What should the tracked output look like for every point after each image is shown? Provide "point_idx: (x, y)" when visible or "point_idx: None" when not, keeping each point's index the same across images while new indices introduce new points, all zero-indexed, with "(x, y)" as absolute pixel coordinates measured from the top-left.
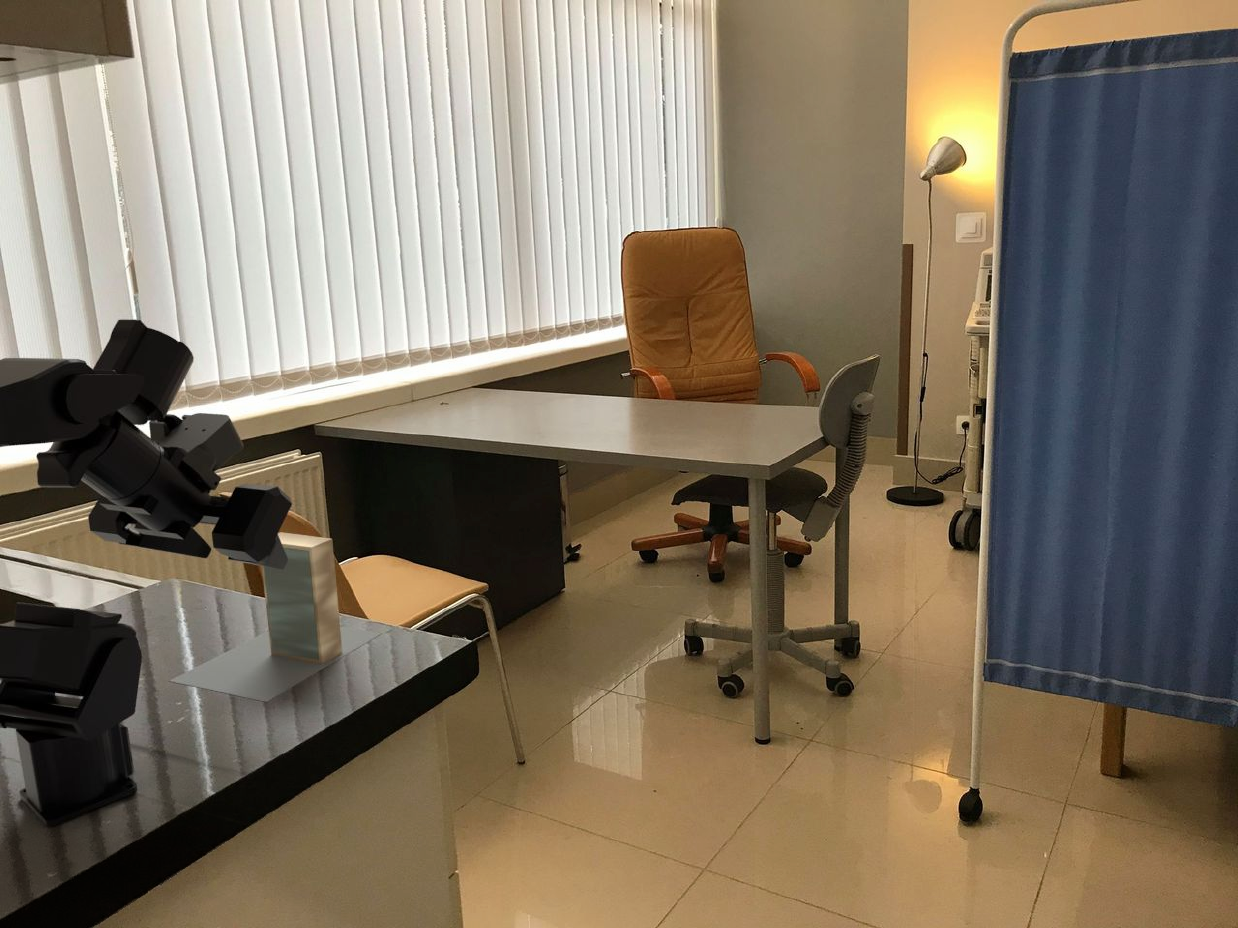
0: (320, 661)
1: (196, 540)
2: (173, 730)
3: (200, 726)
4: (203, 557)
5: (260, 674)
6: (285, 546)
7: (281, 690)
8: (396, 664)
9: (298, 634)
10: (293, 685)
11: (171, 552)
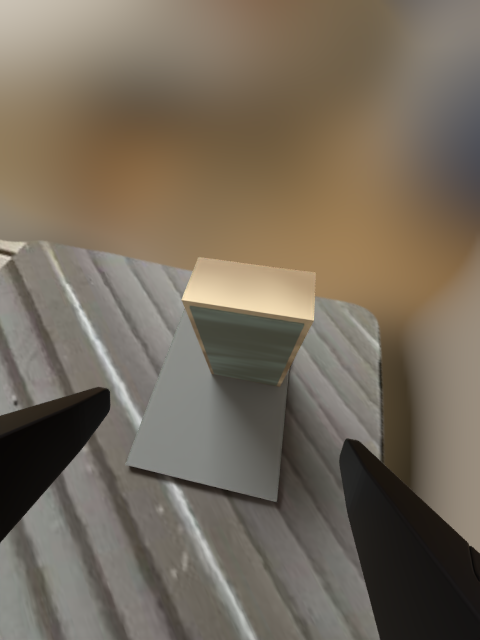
0: (277, 385)
1: (61, 429)
2: (191, 604)
3: (221, 580)
4: (102, 420)
5: (226, 426)
6: (246, 313)
7: (275, 464)
8: (343, 362)
9: (252, 373)
10: (281, 447)
11: (1, 539)
